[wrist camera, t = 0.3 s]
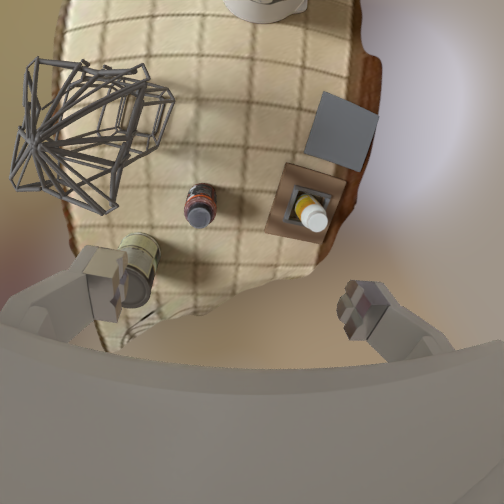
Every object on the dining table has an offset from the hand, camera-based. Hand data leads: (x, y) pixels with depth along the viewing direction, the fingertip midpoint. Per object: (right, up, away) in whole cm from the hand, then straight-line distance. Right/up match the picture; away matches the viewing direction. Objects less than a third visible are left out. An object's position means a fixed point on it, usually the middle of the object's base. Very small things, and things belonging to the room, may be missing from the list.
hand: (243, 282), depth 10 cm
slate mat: (+20, +26, +42) cm, 53 cm away
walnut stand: (+12, +12, +50) cm, 53 cm away
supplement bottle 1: (-10, +13, +46) cm, 49 cm away
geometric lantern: (-21, +28, +36) cm, 50 cm away
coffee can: (-26, +1, +51) cm, 57 cm away
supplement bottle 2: (+12, +12, +50) cm, 53 cm away
